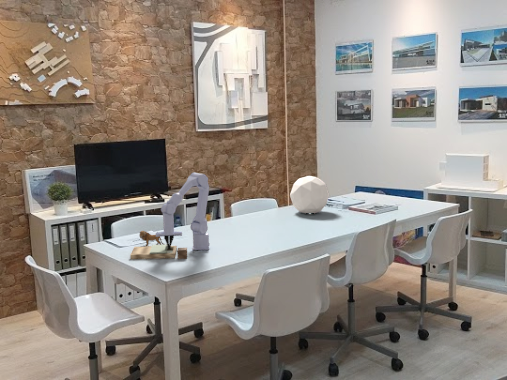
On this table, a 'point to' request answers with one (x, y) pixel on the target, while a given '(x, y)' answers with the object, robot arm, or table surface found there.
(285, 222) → the table surface
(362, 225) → the table surface
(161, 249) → the lid
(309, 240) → the table surface
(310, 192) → the geometric form
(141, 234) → the lion figurine
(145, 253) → the wooden frame
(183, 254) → the walnut cube
